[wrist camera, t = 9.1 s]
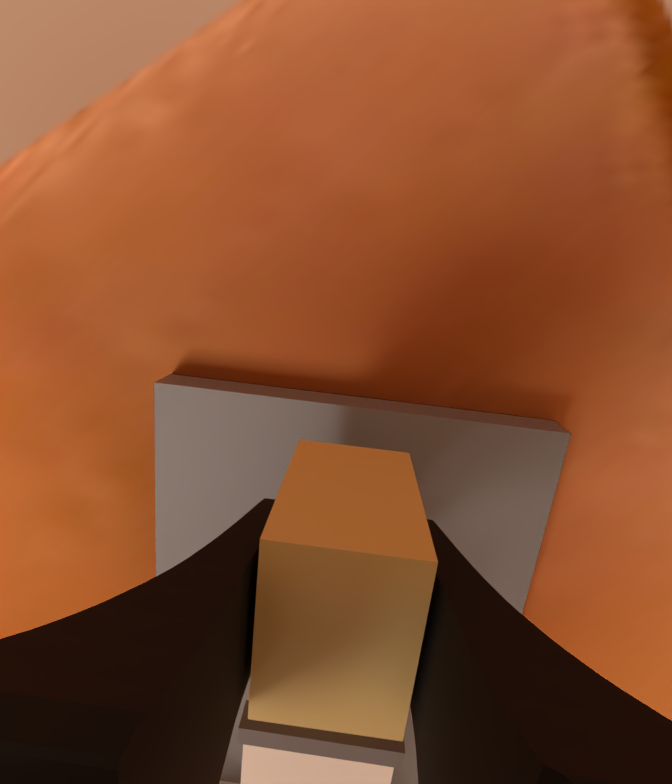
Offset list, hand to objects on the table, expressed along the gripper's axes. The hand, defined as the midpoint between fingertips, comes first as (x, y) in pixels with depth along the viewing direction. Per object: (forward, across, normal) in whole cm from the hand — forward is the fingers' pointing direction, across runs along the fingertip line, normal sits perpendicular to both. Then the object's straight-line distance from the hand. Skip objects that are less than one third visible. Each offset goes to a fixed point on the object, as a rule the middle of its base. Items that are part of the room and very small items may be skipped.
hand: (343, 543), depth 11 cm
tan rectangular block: (+2, 0, 0) cm, 2 cm away
